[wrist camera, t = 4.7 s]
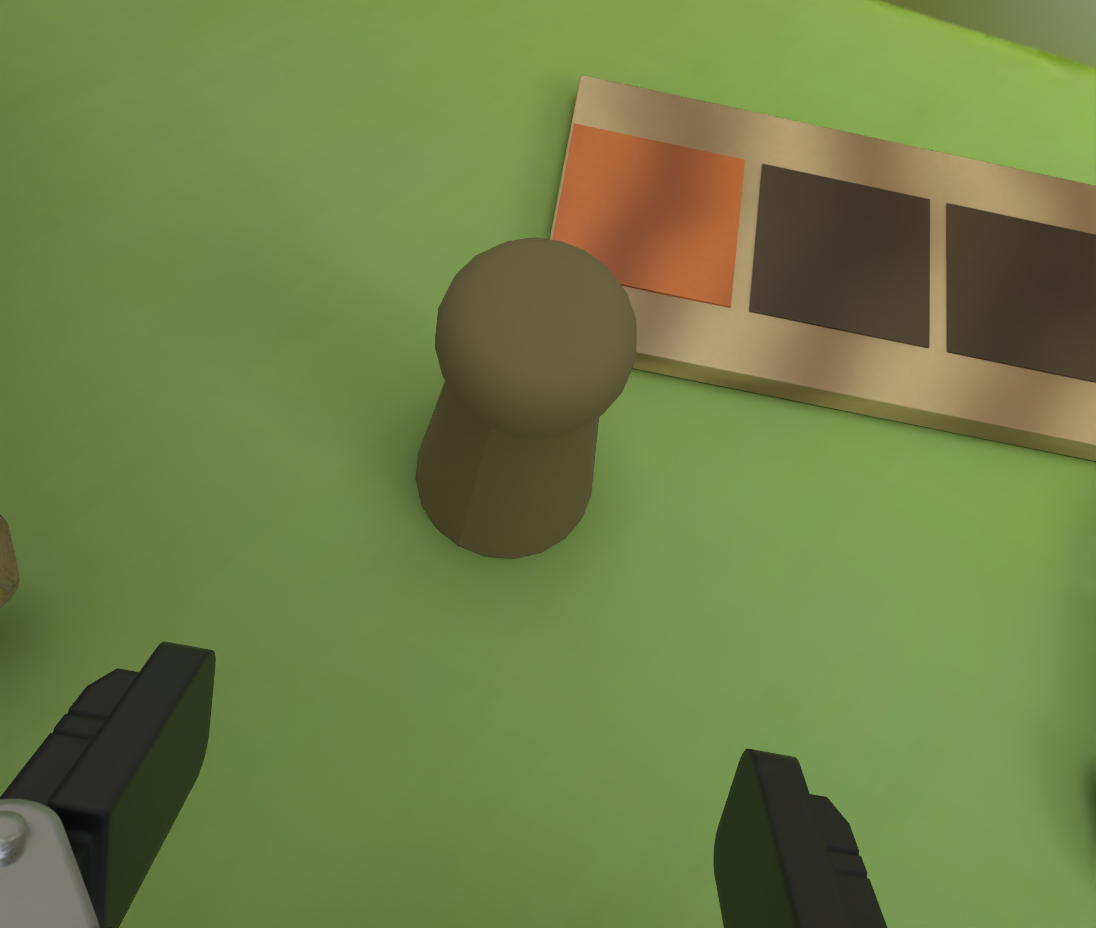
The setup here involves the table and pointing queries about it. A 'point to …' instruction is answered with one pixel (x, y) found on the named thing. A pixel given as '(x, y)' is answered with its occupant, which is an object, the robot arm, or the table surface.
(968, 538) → the table surface
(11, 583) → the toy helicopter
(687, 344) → the board
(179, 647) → the robot arm
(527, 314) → the olive brown pawn
